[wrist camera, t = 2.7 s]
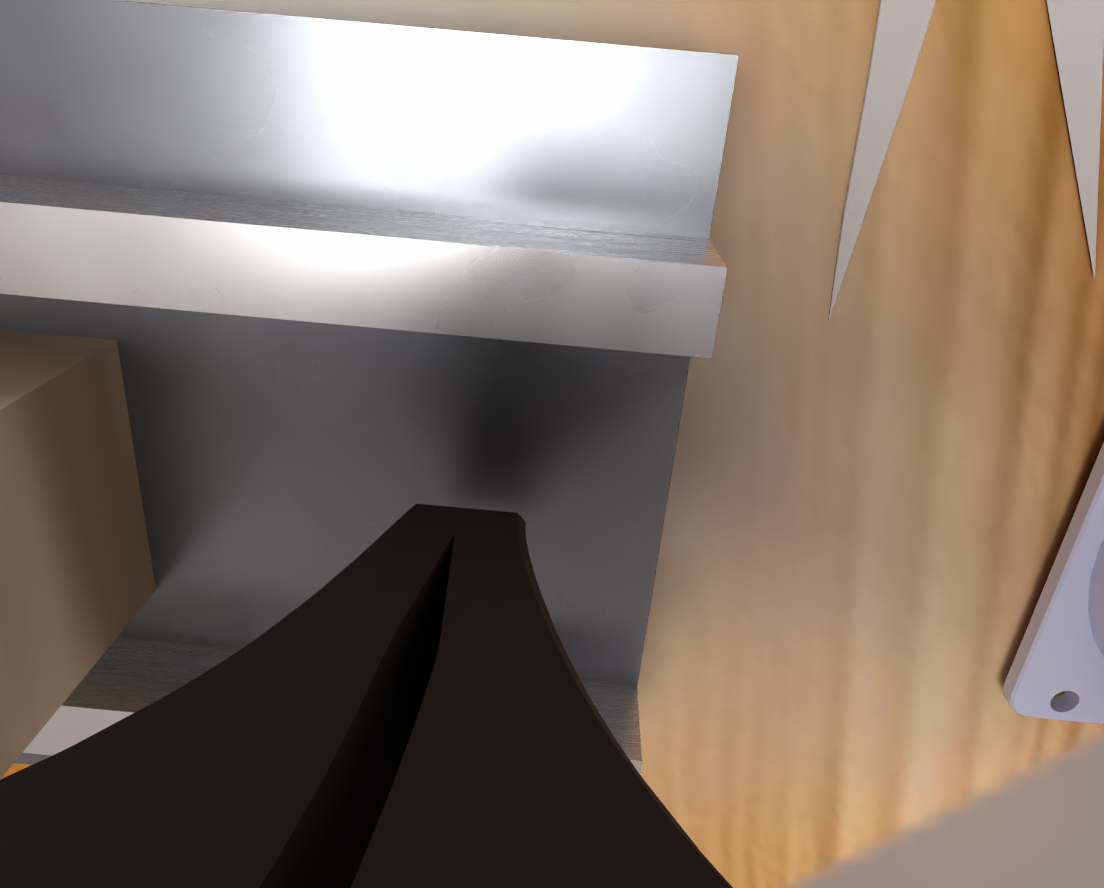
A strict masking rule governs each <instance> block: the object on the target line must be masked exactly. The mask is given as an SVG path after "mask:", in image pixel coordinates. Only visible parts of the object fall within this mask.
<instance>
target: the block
mask: <svg viewBox="0 0 1104 888" xmlns="http://www.w3.org/2000/svg"><path fill="white" fill-rule="evenodd" d="M155 591H156V587H155V581H154V575H153V568H152V562H151V555H150V549H149V543H148V536H147V530H146V524H145V517H144V511H143V505H142V498H141V492H140V485H139V479H138V473H137V466H136V460H135V454H134V447H133V441H132V435H131V428H130V422H129V415H128V409H127V403H126V396H125V390H124V384H123V377H122V371H121V365H120V358H119V352H118V345H117V340H107V339H96V338H85V337H74V336H63V335H52V334H41V333H31V332H20V331H9V330H0V779H1V778H2V777H3V776H4V774H5V773H6V772H7V771H8V770H9V768H10V767H11V766H12V765H13V764H14V762H15V761H16V760H17V759H18V757H19V756H20V755H21V754H22V753H23V751H24V750H25V749H26V748H27V746H28V745H29V744H30V743H31V742H32V740H33V739H34V738H35V737H36V736H37V734H38V733H39V732H40V731H41V729H42V728H43V727H44V726H45V725H46V723H47V722H48V721H49V720H50V718H51V717H52V716H53V715H54V714H55V712H56V711H57V710H58V709H59V708H60V706H61V705H62V704H63V703H64V701H65V700H66V699H67V698H68V697H69V695H70V694H71V693H72V692H73V690H74V689H75V688H76V687H77V686H78V684H79V683H80V682H81V681H82V679H83V678H84V677H85V676H86V675H87V673H88V672H89V671H90V670H91V669H92V667H93V666H94V665H95V664H96V662H97V661H98V660H99V659H100V658H101V656H102V655H103V654H104V653H105V651H106V650H107V649H108V648H109V647H110V645H111V644H112V643H113V642H114V641H115V639H116V638H117V637H118V636H119V634H120V633H121V632H122V631H123V630H124V628H125V627H126V626H127V625H128V623H129V622H130V621H131V620H132V619H133V617H134V616H135V615H136V614H137V613H138V611H139V610H140V609H141V608H142V606H143V605H144V604H145V603H146V602H147V600H148V599H149V598H150V597H151V595H152V594H153V593H154V592H155Z"/></svg>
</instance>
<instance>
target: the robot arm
mask: <svg viewBox="0 0 1104 888" xmlns="http://www.w3.org/2000/svg"><path fill="white" fill-rule="evenodd" d="M525 528H526V522H525V521H524V519H523V518H522V517H521V516H520V515H519V514H518V513H515V512H504V511H493V510H482V509H471V508H460V507H449V506H438V505H427V504H416V505H414V506H413V507H412V508H410V509H409V510H408V511H407V512H406V513H405V514H403V515H402V516H401V517H400V518H399V519H398V520H397V521H396V522H395V523H394V524H393V525H392V526H391V527H390V528H388V529H387V530H386V531H385V532H384V533H383V534H382V535H381V536H380V537H379V538H378V539H377V540H376V541H375V542H374V543H372V544H371V545H370V546H369V547H368V548H367V549H366V550H365V551H364V552H363V553H361V554H360V555H359V556H358V557H357V558H356V559H355V560H354V561H353V562H351V563H350V564H349V565H348V566H347V567H346V568H344V569H343V570H342V571H341V572H340V573H339V574H337V575H336V576H335V577H334V578H333V579H332V580H330V581H329V582H328V583H327V584H326V585H325V586H323V587H322V588H321V589H320V590H319V591H318V592H316V593H315V594H314V595H313V596H311V597H310V598H309V599H308V600H306V601H305V602H304V603H302V604H301V605H300V606H299V607H297V608H296V609H295V610H293V611H292V612H291V613H289V614H288V615H287V616H285V617H284V618H283V619H282V620H280V621H279V622H278V623H276V624H275V625H274V626H272V627H271V628H270V629H268V630H267V631H266V632H264V633H263V634H262V635H261V636H259V637H258V638H256V639H255V640H254V641H252V642H251V643H249V644H248V645H246V646H245V647H244V648H242V649H241V650H239V651H238V652H236V653H235V654H233V655H232V656H230V657H229V658H227V659H226V660H224V661H222V662H221V663H219V664H218V665H216V666H214V667H213V668H211V669H209V670H208V671H206V672H205V673H203V674H201V675H200V676H198V677H197V678H195V679H193V680H192V681H190V682H189V683H187V684H185V685H184V686H182V687H180V688H179V689H177V690H175V691H174V692H172V693H170V694H168V695H167V696H165V697H163V698H161V699H159V700H158V701H156V702H154V703H152V704H150V705H148V706H146V707H144V708H142V709H141V710H139V711H137V712H135V713H133V714H131V715H129V716H127V717H126V718H124V719H122V720H120V721H118V722H116V723H114V724H112V725H110V726H109V727H107V728H105V729H103V730H101V731H99V732H97V733H95V734H94V735H92V736H90V737H88V738H86V739H84V740H82V741H80V742H78V743H77V744H75V745H73V746H71V747H69V748H67V749H65V750H63V751H61V752H59V753H57V754H55V755H52V756H50V757H48V758H46V759H44V760H42V761H40V762H37V763H35V764H33V765H31V766H29V767H27V768H25V769H22V770H20V771H18V772H16V773H14V774H12V775H10V776H7V777H5V778H3V779H1V780H0V888H733V887H732V886H731V885H730V884H729V883H728V882H727V881H726V880H725V878H724V877H723V876H722V875H721V874H720V873H719V872H718V871H717V870H716V868H715V867H714V866H713V865H712V864H711V863H710V862H709V861H708V859H707V858H706V857H705V856H704V855H703V854H702V853H701V852H700V850H699V849H698V848H697V846H696V845H695V844H694V843H693V841H692V840H691V839H690V838H689V836H688V835H687V834H686V833H685V831H684V830H683V829H682V828H681V826H680V825H679V824H678V822H677V821H676V820H675V819H674V817H673V816H672V815H671V814H670V812H669V811H668V810H667V809H666V807H665V806H664V805H663V803H662V802H661V801H660V800H659V798H658V797H657V796H656V795H655V793H654V792H653V791H652V790H651V788H650V787H649V786H648V785H647V783H646V782H645V781H644V779H643V778H642V777H641V775H640V774H639V773H638V771H637V770H636V768H635V767H634V765H633V764H632V762H631V761H630V759H629V758H628V756H627V755H626V754H625V752H624V751H623V749H622V748H621V746H620V745H619V743H618V742H617V740H616V739H615V737H614V736H613V734H612V733H611V731H610V729H609V728H608V726H607V725H606V723H605V721H604V720H603V718H602V717H601V715H600V713H599V712H598V710H597V709H596V707H595V705H594V704H593V702H592V700H591V698H590V697H589V695H588V693H587V691H586V690H585V688H584V686H583V684H582V682H581V680H580V678H579V677H578V675H577V673H576V671H575V669H574V667H573V665H572V663H571V661H570V659H569V657H568V655H567V653H566V651H565V649H564V647H563V645H562V643H561V640H560V638H559V636H558V634H557V631H556V629H555V627H554V625H553V622H552V620H551V617H550V615H549V612H548V609H547V607H546V604H545V602H544V599H543V597H542V594H541V592H540V589H539V586H538V583H537V580H536V577H535V574H534V570H533V567H532V563H531V559H530V556H529V551H528V547H527V541H526V531H525ZM1063 691H1065V693H1064V694H1062V695H1060V696H1058V697H1054V696H1055V695H1056V694H1058V693H1060V692H1063ZM1003 693H1004V695H1005V698H1006V700H1007V701H1008V703H1009V704H1010V706H1011V707H1012V709H1013V710H1014V711H1015V712H1017V713H1018V714H1019V715H1023V716H1027V717H1033V718H1044V719H1055V720H1065V721H1076V722H1086V723H1097V724H1104V443H1103V445H1102V447H1101V450H1100V452H1099V455H1098V457H1097V460H1096V462H1095V464H1094V467H1093V469H1092V472H1091V474H1090V477H1089V479H1088V481H1087V484H1086V486H1085V489H1084V491H1083V494H1082V496H1081V498H1080V501H1079V503H1078V506H1077V508H1076V511H1075V513H1074V515H1073V518H1072V520H1071V523H1070V525H1069V528H1068V530H1067V532H1066V535H1065V537H1064V540H1063V542H1062V545H1061V547H1060V549H1059V552H1058V554H1057V557H1056V559H1055V562H1054V564H1053V566H1052V569H1051V571H1050V574H1049V576H1048V579H1047V581H1046V583H1045V586H1044V588H1043V591H1042V593H1041V596H1040V598H1039V600H1038V603H1037V605H1036V608H1035V610H1034V613H1033V615H1032V617H1031V620H1030V622H1029V625H1028V627H1027V630H1026V632H1025V634H1024V637H1023V639H1022V642H1021V644H1020V647H1019V649H1018V651H1017V654H1016V656H1015V659H1014V661H1013V664H1012V666H1011V668H1010V671H1009V673H1008V676H1007V678H1006V681H1005V683H1004V688H1003Z"/></svg>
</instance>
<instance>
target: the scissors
mask: <svg viewBox="0 0 1104 888" xmlns="http://www.w3.org/2000/svg"><path fill="white" fill-rule="evenodd" d="M935 2H936V0H880V2H879V8H878V14H877V21H876V27H875V33H874V39H873V45H872V52H871V58H870V64H869V70H868V76H867V82H866V88H865V93H864V99H863V104H862V110H861V115H860V121H859V126H858V132H857V137H856V143H855V148H854V154H853V159H852V164H851V170H850V175H849V181H848V186H847V192H846V197H845V203H844V208H843V214H842V221H841V228H840V236H839V243H838V251H837V258H836V266H835V273H834V281H833V289H832V297H831V306H830V314H829V319H830V316H831V314H832V311H833V308H834V305H835V302H836V299H837V296H838V293H839V290H840V287H841V284H842V281H843V278H844V275H845V272H846V269H847V267H848V264H849V261H850V258H851V255H852V252H853V249H854V246H855V243H856V240H857V237H858V234H859V231H860V228H861V225H862V222H863V220H864V217H865V214H866V211H867V208H868V205H869V202H870V199H871V196H872V193H873V190H874V187H875V184H876V181H877V178H878V176H879V173H880V170H881V167H882V164H883V161H884V158H885V155H886V152H887V149H888V146H889V143H890V140H891V137H892V134H893V131H894V129H895V126H896V123H897V120H898V117H899V114H900V111H901V108H902V105H903V102H904V99H905V96H906V93H907V90H908V87H909V85H910V82H911V79H912V76H913V72H914V69H915V66H916V63H917V59H918V56H919V53H920V50H921V47H922V43H923V40H924V37H925V34H926V30H927V27H928V24H929V21H930V18H931V14H932V11H933V8H934V5H935ZM1047 6H1048V12H1049V17H1050V23H1051V29H1052V35H1053V41H1054V47H1055V52H1056V58H1057V64H1058V70H1059V76H1060V82H1061V87H1062V93H1063V99H1064V105H1065V111H1066V117H1067V122H1068V128H1069V134H1070V140H1071V146H1072V152H1073V157H1074V163H1075V169H1076V175H1077V181H1078V187H1079V192H1080V198H1081V204H1082V210H1083V216H1084V222H1085V227H1086V233H1087V239H1088V245H1089V251H1090V257H1091V263H1092V268H1093V274H1094V280H1095V260H1096V233H1097V206H1098V180H1099V153H1100V126H1101V99H1102V72H1103V46H1104V0H1047Z"/></svg>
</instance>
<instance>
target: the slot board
mask: <svg viewBox="0 0 1104 888" xmlns="http://www.w3.org/2000/svg"><path fill="white" fill-rule="evenodd" d="M738 57H739V55H729V54H718V53H706V52H695V51H684V50H673V49H661V48H650V47H639V46H627V45H616V44H605V43H593V42H582V41H571V40H559V39H548V38H537V37H526V36H514V35H503V34H492V33H480V32H469V31H458V30H446V29H435V28H424V27H412V26H401V25H390V24H378V23H367V22H356V21H345V20H333V19H322V18H311V17H299V16H288V15H277V14H265V13H254V12H243V11H231V10H220V9H209V8H198V7H186V6H175V5H164V4H152V3H141V2H130V1H118V0H0V330H9V331H20V332H31V333H41V334H52V335H63V336H74V337H85V338H96V339H107V340H117V345H118V352H119V358H120V365H121V371H122V377H123V384H124V390H125V396H126V403H127V409H128V415H129V422H130V428H131V435H132V441H133V447H134V454H135V460H136V466H137V473H138V479H139V485H140V492H141V498H142V505H143V511H144V517H145V524H146V530H147V536H148V543H149V549H150V555H151V562H152V568H153V575H154V581H155V587H156V591H155V592H154V593H153V594H152V595H151V597H150V598H149V599H148V600H147V602H146V603H145V604H144V605H143V606H142V608H141V609H140V610H139V611H138V613H137V614H136V615H135V616H134V617H133V619H132V620H131V621H130V622H129V623H128V625H127V626H126V627H125V628H124V630H123V631H122V632H121V633H120V634H119V636H118V637H117V638H116V639H115V641H114V642H113V643H112V644H111V645H110V647H109V648H108V649H107V650H106V651H105V653H104V654H103V655H102V656H101V658H100V659H99V660H98V661H97V662H96V664H95V665H94V666H93V667H92V669H91V670H90V671H89V672H88V673H87V675H86V676H85V677H84V678H83V679H82V681H81V682H80V683H79V684H78V686H77V687H76V688H75V689H74V690H73V692H72V693H71V694H70V695H69V697H68V698H67V699H66V700H65V701H64V703H63V704H62V705H61V706H60V708H59V709H58V710H57V711H56V712H55V714H54V715H53V716H52V717H51V718H50V720H49V721H48V722H47V723H46V725H45V726H44V727H43V728H42V729H41V731H40V732H39V733H38V734H37V736H36V737H35V738H34V739H33V740H32V742H31V743H30V744H29V745H28V746H27V748H26V749H25V750H24V751H23V753H22V754H21V755H20V756H19V757H18V759H17V760H16V761H15V762H14V763H22V764H35V763H37V762H40V761H42V760H44V759H46V758H48V757H50V756H52V755H55V754H57V753H59V752H61V751H63V750H65V749H67V748H69V747H71V746H73V745H75V744H77V743H78V742H80V741H82V740H84V739H86V738H88V737H90V736H92V735H94V734H95V733H97V732H99V731H101V730H103V729H105V728H107V727H109V726H110V725H112V724H114V723H116V722H118V721H120V720H122V719H124V718H126V717H127V716H129V715H131V714H133V713H135V712H137V711H139V710H141V709H142V708H144V707H146V706H148V705H150V704H152V703H154V702H156V701H158V700H159V699H161V698H163V697H165V696H167V695H168V694H170V693H172V692H174V691H175V690H177V689H179V688H180V687H182V686H184V685H185V684H187V683H189V682H190V681H192V680H193V679H195V678H197V677H198V676H200V675H201V674H203V673H205V672H206V671H208V670H209V669H211V668H213V667H214V666H216V665H218V664H219V663H221V662H222V661H224V660H226V659H227V658H229V657H230V656H232V655H233V654H235V653H236V652H238V651H239V650H241V649H242V648H244V647H245V646H246V645H248V644H249V643H251V642H252V641H254V640H255V639H256V638H258V637H259V636H261V635H262V634H263V633H264V632H266V631H267V630H268V629H270V628H271V627H272V626H274V625H275V624H276V623H278V622H279V621H280V620H282V619H283V618H284V617H285V616H287V615H288V614H289V613H291V612H292V611H293V610H295V609H296V608H297V607H299V606H300V605H301V604H302V603H304V602H305V601H306V600H308V599H309V598H310V597H311V596H313V595H314V594H315V593H316V592H318V591H319V590H320V589H321V588H322V587H323V586H325V585H326V584H327V583H328V582H329V581H330V580H332V579H333V578H334V577H335V576H336V575H337V574H339V573H340V572H341V571H342V570H343V569H344V568H346V567H347V566H348V565H349V564H350V563H351V562H353V561H354V560H355V559H356V558H357V557H358V556H359V555H360V554H361V553H363V552H364V551H365V550H366V549H367V548H368V547H369V546H370V545H371V544H372V543H374V542H375V541H376V540H377V539H378V538H379V537H380V536H381V535H382V534H383V533H384V532H385V531H386V530H387V529H388V528H390V527H391V526H392V525H393V524H394V523H395V522H396V521H397V520H398V519H399V518H400V517H401V516H402V515H403V514H405V513H406V512H407V511H408V510H409V509H410V508H412V507H413V506H414V505H416V504H427V505H438V506H449V507H460V508H471V509H482V510H493V511H504V512H515V513H518V514H519V515H520V516H521V517H522V518H523V519H524V521H525V522H526V528H525V531H526V541H527V547H528V551H529V556H530V559H531V563H532V567H533V570H534V574H535V577H536V580H537V583H538V586H539V589H540V592H541V594H542V597H543V599H544V602H545V604H546V607H547V609H548V612H549V615H550V617H551V620H552V622H553V625H554V627H555V629H556V631H557V634H558V636H559V638H560V640H561V643H562V645H563V647H564V649H565V651H566V653H567V655H568V657H569V659H570V661H571V663H572V665H573V667H574V669H575V671H576V673H577V675H578V677H579V678H580V680H581V682H582V684H583V686H584V688H585V690H586V691H587V693H588V695H589V697H590V698H591V700H592V702H593V704H594V705H595V707H596V709H597V710H598V712H599V713H600V715H601V717H602V718H603V720H604V721H605V723H606V725H607V726H608V728H609V729H610V731H611V733H612V734H613V736H614V737H615V739H616V740H617V742H618V743H619V745H620V746H621V748H622V749H623V751H624V752H625V754H626V755H627V756H628V758H629V759H630V761H631V762H632V764H633V765H634V767H635V768H636V770H637V771H638V773H639V774H640V770H641V764H642V753H641V739H640V724H639V709H638V695H637V683H638V677H639V671H640V665H641V659H642V652H643V646H644V640H645V634H646V628H647V621H648V615H649V609H650V603H651V597H652V590H653V584H654V578H655V572H656V566H657V559H658V553H659V547H660V541H661V535H662V528H663V522H664V516H665V510H666V504H667V497H668V491H669V485H670V479H671V473H672V466H673V460H674V454H675V448H676V442H677V435H678V429H679V423H680V417H681V411H682V404H683V398H684V392H685V386H686V380H687V373H688V367H689V361H690V357H700V358H711V359H712V355H713V349H714V343H715V338H716V332H717V326H718V320H719V315H720V309H721V303H722V297H723V292H724V286H725V280H726V274H727V266H726V264H725V263H724V261H723V260H722V258H721V256H720V255H719V253H718V252H717V250H716V249H715V247H714V245H713V244H712V242H711V241H710V239H709V237H710V231H711V225H712V219H713V212H714V206H715V200H716V194H717V188H718V181H719V175H720V169H721V163H722V157H723V150H724V144H725V138H726V132H727V126H728V119H729V113H730V107H731V101H732V95H733V88H734V82H735V76H736V70H737V64H738Z"/></svg>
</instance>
